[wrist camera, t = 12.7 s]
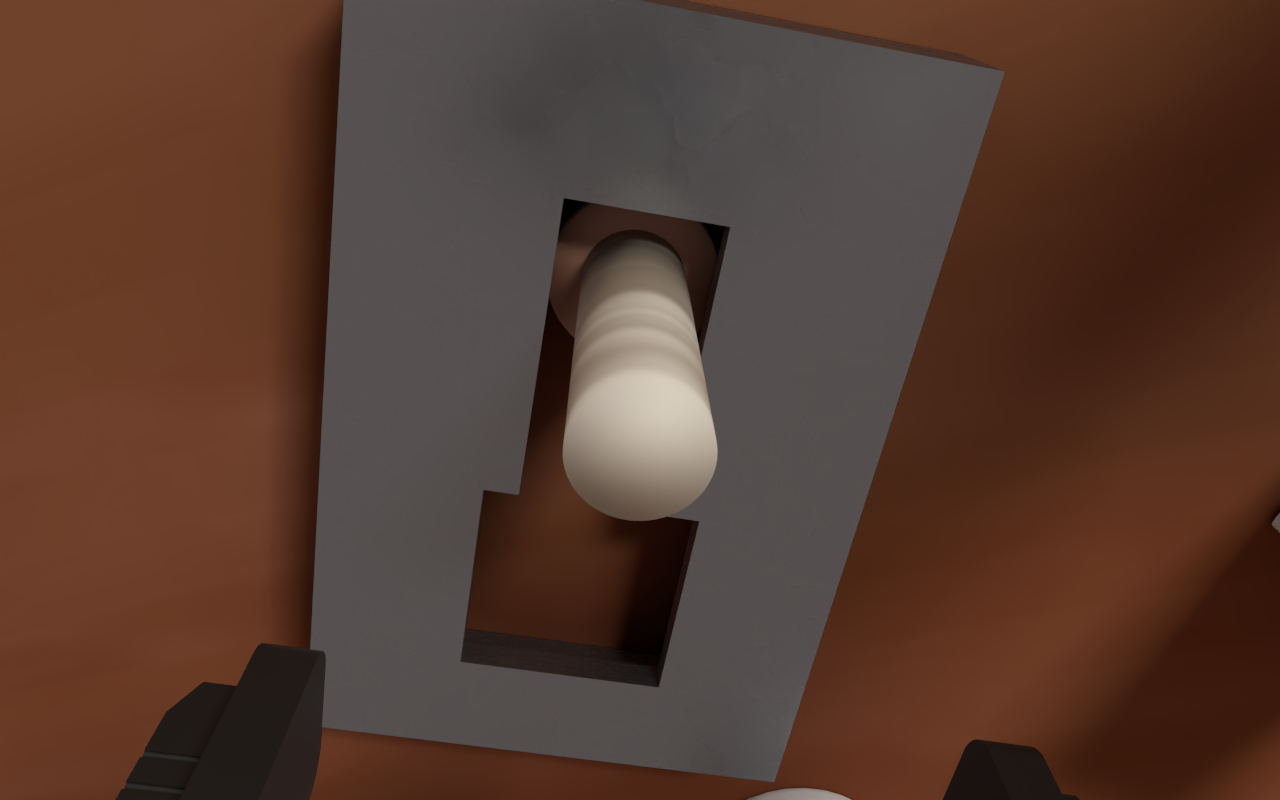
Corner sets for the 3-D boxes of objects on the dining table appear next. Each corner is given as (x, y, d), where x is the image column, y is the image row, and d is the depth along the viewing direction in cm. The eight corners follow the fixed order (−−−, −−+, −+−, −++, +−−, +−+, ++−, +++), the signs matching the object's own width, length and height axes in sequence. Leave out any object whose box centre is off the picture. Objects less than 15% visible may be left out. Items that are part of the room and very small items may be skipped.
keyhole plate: (379, -60, 26) (346, -57, 23) (961, 54, 28) (1004, 71, 25) (333, 655, 36) (306, 725, 33) (761, 710, 38) (774, 782, 35)
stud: (562, 167, 29) (529, 314, 18) (731, 197, 29) (796, 358, 19) (539, 327, 31) (496, 544, 20) (697, 352, 31) (737, 577, 21)
